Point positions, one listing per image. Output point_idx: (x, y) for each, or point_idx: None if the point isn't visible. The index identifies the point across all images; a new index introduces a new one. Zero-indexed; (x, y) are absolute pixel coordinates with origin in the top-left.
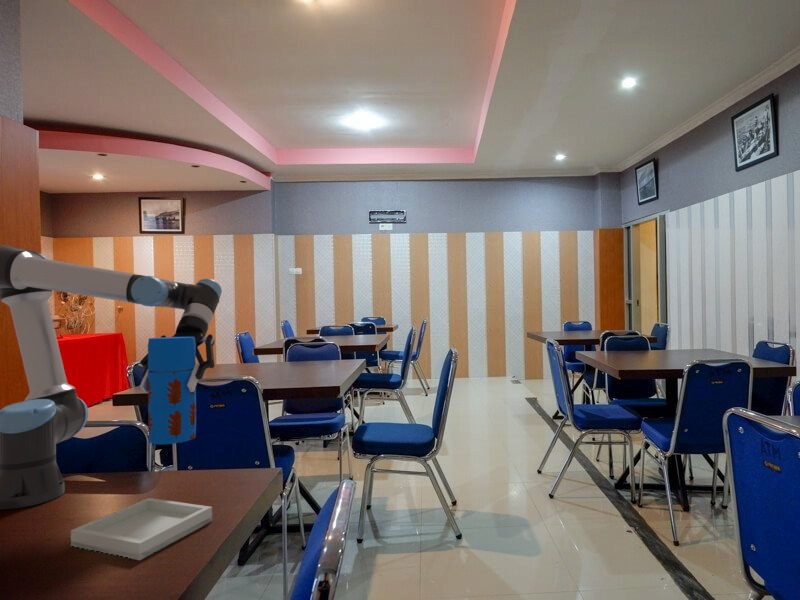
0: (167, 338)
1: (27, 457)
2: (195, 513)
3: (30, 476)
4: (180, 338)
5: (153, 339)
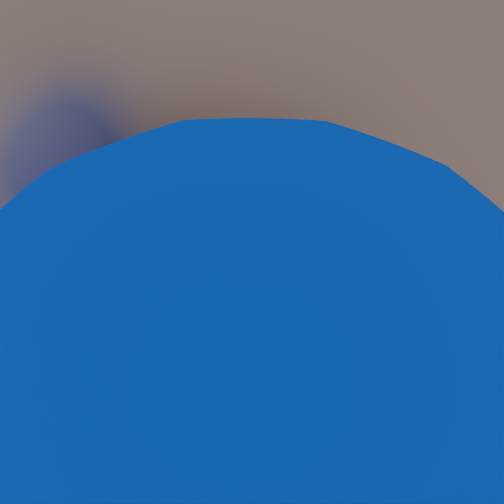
0: (269, 124)
1: None
2: None
3: None
4: (49, 175)
5: (493, 215)
